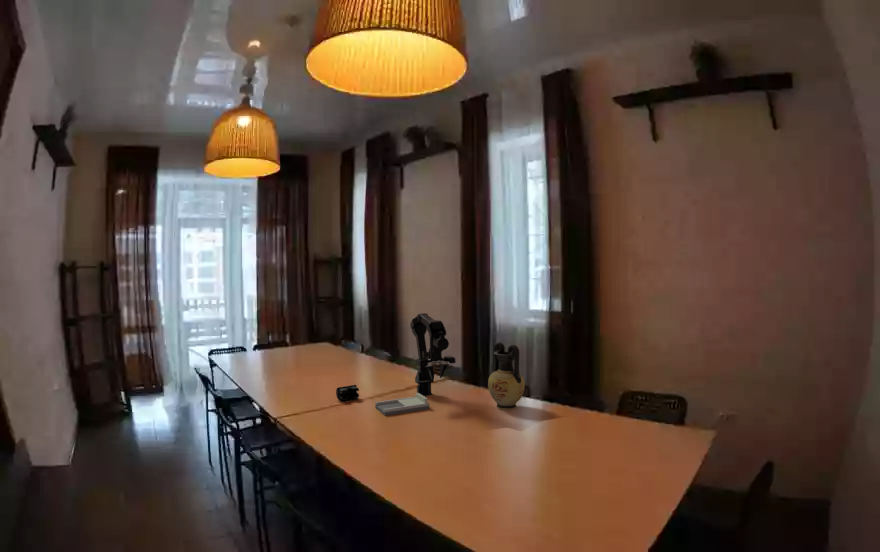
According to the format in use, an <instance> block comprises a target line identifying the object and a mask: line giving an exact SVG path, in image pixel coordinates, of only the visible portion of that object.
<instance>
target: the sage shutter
mask: <svg viewBox="0 0 880 552" xmlns="http://www.w3.org/2000/svg"><path fill="white" fill-rule="evenodd" d="M415 397H416V398H410V399H403V400H397V402H398V403H400V404H401V405H402V406H409V405H416V404H423V403H429V401H428V397H426V396H423V395H421V394H420V393H417V392H416V393H415Z"/></svg>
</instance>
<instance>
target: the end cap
mask: <svg viewBox="0 0 880 552" xmlns="http://www.w3.org/2000/svg"><path fill="white" fill-rule="evenodd" d="M359 391H360V389H359V387H357V384H351V385H344V386H339V387H336V390H335V395H336V398H337V400H338V401H339V402H341V403H348V402H353V401H358V400H359V397H360V393H359Z"/></svg>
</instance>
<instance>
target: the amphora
mask: <svg viewBox="0 0 880 552" xmlns="http://www.w3.org/2000/svg"><path fill="white" fill-rule="evenodd" d="M505 348H506V347H505V345H504V343H503V342H496V343H495V344H494V346H493V355H494V368H493V372H492V373H490V375H489V377H488V382H487V388H488V391H489V394H490V396H491V397H492V400H493V401H495V403H496V408H497V409H498V410H501V411H504V410H505V411H510V410H511V411H512V410H515V409H516V408H517V403H518V402H519V401H520V400H521V398H522V397H523V395H524V392H525V385H526V384H525V378H524V376H523V375H522V374H521V373H520V349H519V347H518V346H517V345H516V344H511V345H509V347H508V348H507V350H505ZM513 363H514V364H513ZM513 366H514V367H513Z"/></svg>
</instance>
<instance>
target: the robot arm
mask: <svg viewBox="0 0 880 552" xmlns="http://www.w3.org/2000/svg"><path fill="white" fill-rule="evenodd" d="M409 325H410V330H411V332H412V334H413V336H414V337H415V340H416V342H415V343H416V349H417V355H418V358H417V359H416V360H415V362H416V366H417V369H416V370H417V371H416V372H417V373H416V375H415V377H414V380H415V381H414V382H415V383H416V384H417V385H416V393H420V394H421V395H423V396H424V397H426V396H432V395H433V393H432V384H433V383H434V381H435V372H434V366H433V365H432V364H439V378H440V379H442V378H443V376H444V373H445V371H446V370H447V368H448V366H449V365H450V364H456V361H457V359H456V358H455V356H452V355H446V356H445V355H444V356H443V353H442V352H443V351H445V350H447V349H448V347H449V345H450V343H449V340H448V339H447V338H446V336H447V330H446V326H445V325H444V323H443V321H442V320H439V319H433V318H432V317H431V316H429V314H428V313H426V312H423V313H418V314H417V316H415V317H414V318H412V319H411V321H410V324H409ZM426 333H428V336H429V348H428V351H427V344H426Z"/></svg>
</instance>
